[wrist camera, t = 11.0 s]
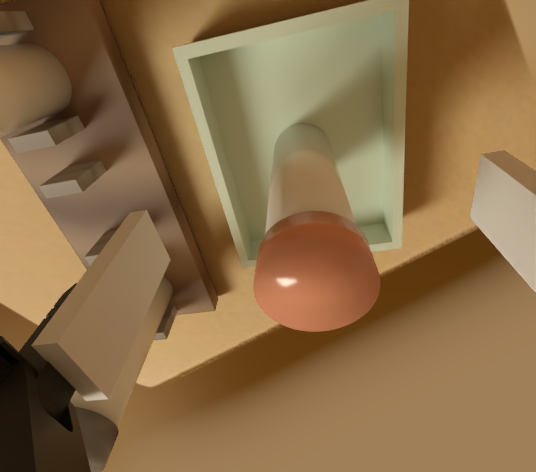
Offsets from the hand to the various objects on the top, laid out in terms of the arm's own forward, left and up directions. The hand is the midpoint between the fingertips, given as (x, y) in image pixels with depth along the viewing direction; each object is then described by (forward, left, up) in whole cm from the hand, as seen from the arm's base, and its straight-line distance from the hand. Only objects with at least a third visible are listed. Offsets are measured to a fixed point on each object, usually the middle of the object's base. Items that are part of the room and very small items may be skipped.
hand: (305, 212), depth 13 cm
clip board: (+1, -14, -9) cm, 17 cm away
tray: (0, 0, -9) cm, 9 cm away
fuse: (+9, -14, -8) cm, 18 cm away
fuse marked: (+1, 0, -9) cm, 9 cm away
